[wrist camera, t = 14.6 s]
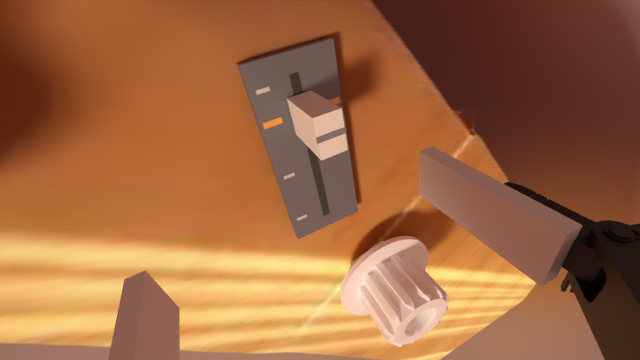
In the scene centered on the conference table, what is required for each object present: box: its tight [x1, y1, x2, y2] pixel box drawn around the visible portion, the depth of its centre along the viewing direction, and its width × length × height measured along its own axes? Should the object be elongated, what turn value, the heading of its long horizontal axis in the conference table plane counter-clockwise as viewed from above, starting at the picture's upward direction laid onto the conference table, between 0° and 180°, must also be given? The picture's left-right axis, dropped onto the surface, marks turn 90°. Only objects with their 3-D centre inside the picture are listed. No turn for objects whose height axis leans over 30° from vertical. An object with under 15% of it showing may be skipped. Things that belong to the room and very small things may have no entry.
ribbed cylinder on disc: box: [340, 236, 449, 347], centre depth 66 cm, size 25×25×19 cm
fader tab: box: [287, 90, 348, 161], centre depth 39 cm, size 4×6×10 cm
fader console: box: [237, 37, 358, 239], centre depth 49 cm, size 14×34×2 cm, turn 12°
